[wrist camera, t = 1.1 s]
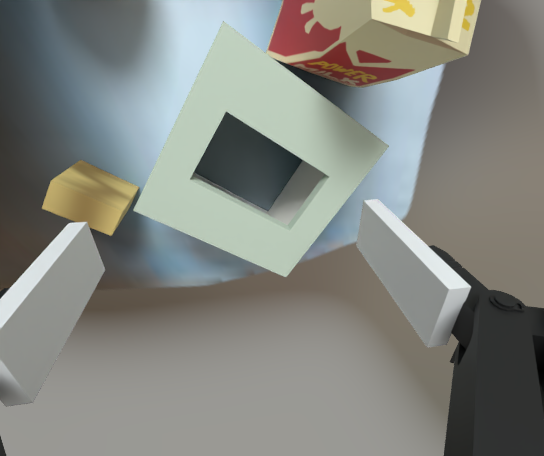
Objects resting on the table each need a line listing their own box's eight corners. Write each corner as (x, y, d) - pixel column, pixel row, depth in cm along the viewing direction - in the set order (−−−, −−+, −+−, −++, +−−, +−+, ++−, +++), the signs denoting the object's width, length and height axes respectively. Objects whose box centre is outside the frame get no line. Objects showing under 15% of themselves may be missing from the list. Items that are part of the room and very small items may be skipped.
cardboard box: (71, 183, 32) (41, 208, 26) (80, 159, 30) (51, 180, 25) (129, 208, 34) (111, 236, 29) (139, 187, 33) (122, 211, 27)
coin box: (160, 165, 32) (133, 210, 22) (224, 34, 27) (223, 21, 17) (270, 221, 37) (285, 277, 27) (340, 120, 32) (389, 146, 22)
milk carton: (350, 86, 30) (513, 122, 13) (263, 59, 28) (321, 61, 11) (388, -24, 26) (697, -180, 9) (290, -66, 24) (452, -376, 7)
